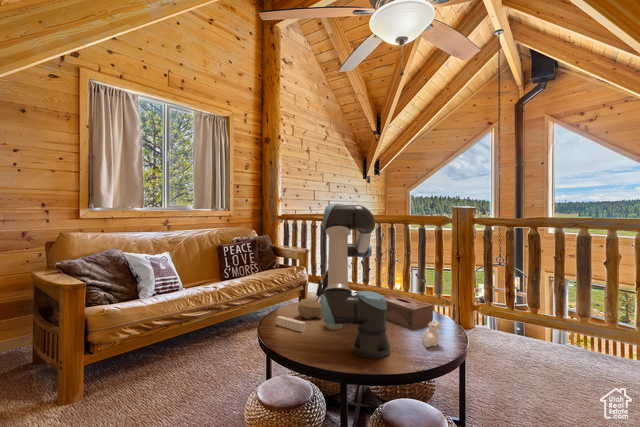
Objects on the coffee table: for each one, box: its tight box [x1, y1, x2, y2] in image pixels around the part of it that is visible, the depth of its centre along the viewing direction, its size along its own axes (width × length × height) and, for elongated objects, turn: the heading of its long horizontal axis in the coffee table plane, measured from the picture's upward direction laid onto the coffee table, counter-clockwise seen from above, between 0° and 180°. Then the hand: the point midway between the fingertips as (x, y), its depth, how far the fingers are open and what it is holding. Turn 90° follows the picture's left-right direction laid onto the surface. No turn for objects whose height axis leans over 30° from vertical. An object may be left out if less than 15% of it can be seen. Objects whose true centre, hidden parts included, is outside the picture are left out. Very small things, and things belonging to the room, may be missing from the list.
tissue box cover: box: [383, 292, 434, 331], centre depth 168 cm, size 26×14×10 cm, turn 33°
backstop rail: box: [276, 315, 307, 333], centre depth 155 cm, size 2×16×4 cm, turn 56°
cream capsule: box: [306, 292, 318, 301], centre depth 191 cm, size 6×6×7 cm
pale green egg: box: [325, 323, 343, 331], centre depth 157 cm, size 8×8×9 cm
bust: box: [421, 320, 442, 348], centre depth 137 cm, size 12×8×11 cm
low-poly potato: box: [297, 298, 322, 320], centre depth 170 cm, size 15×11×12 cm
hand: (316, 308), depth 174 cm, fingers closed
